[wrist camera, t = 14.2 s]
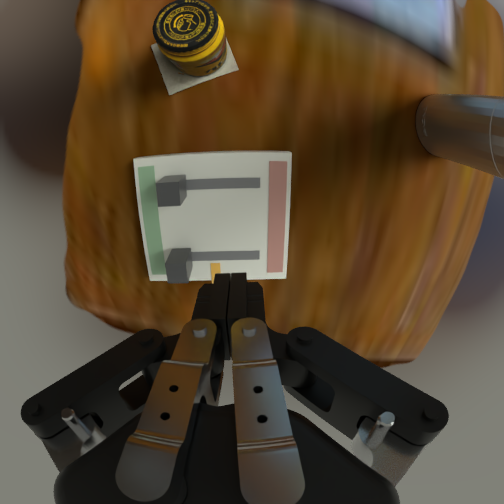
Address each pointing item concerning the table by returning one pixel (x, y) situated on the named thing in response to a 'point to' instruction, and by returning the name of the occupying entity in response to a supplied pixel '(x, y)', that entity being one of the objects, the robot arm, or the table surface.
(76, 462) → the robot arm
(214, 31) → the condiment
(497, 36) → the table surface
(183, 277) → the block
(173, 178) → the block
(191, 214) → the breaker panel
